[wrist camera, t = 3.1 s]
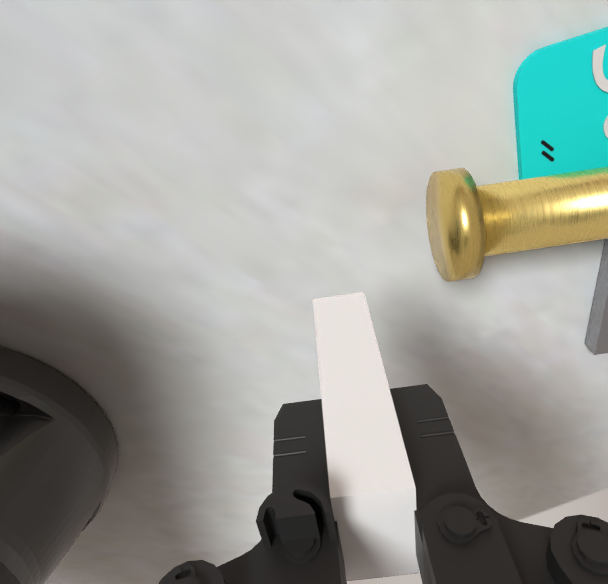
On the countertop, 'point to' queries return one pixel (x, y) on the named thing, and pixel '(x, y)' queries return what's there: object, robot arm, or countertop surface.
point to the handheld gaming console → (563, 107)
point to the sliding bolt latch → (599, 310)
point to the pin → (511, 216)
